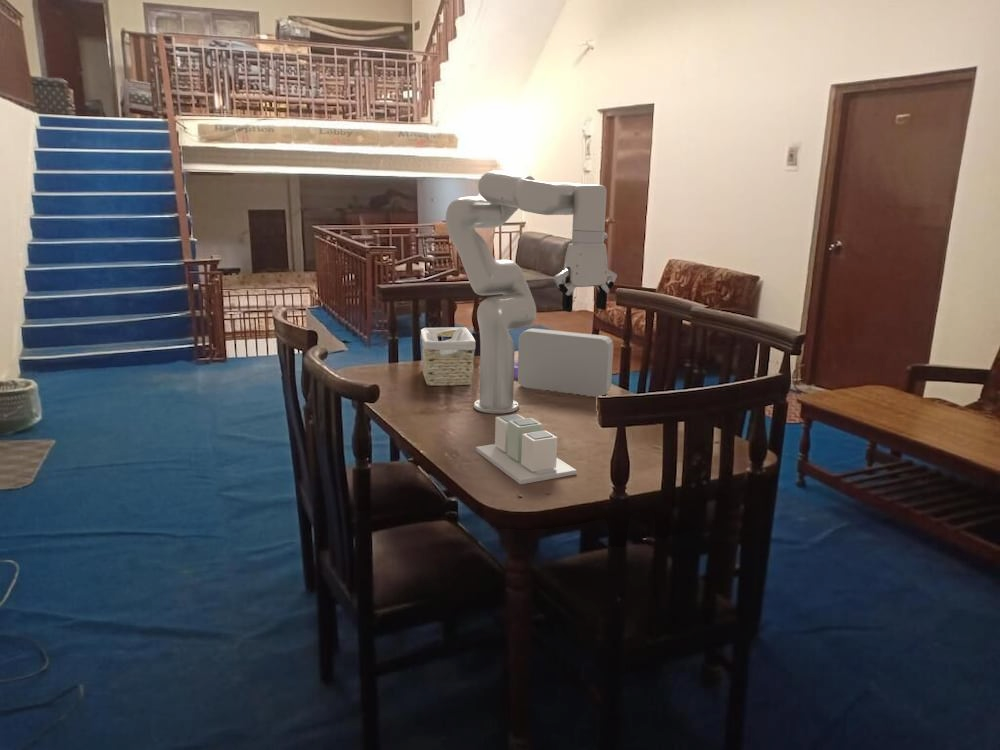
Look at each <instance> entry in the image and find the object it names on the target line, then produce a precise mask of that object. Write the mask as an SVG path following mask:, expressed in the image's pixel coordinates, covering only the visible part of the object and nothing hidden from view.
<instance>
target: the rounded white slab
mask: <svg viewBox="0 0 1000 750" xmlns="http://www.w3.org/2000/svg"><path fill="white" fill-rule="evenodd" d="M614 346H615V345H614V341H613V340H612V338H611V337H610V336H607V335H600V334H591V333H584V332H583V333H582V332H571V331H562V330H555V329H554V330H553V329H544V328H533V327H532V328H528V329H526V330H523V331H522V332H521V333H520V334H519V337H518V356H517V358H518V359H517V361H518V379H517V382H518V384H519V385H520V386H521V387H523V388H526V389H531V390H539V389H540V390H539V391H546V390H550V391H549V392H554V391H557V392H556V393H561V392H564V393H563V394H568V393H573V394H572V395H576V394H582V395H581V396H583V395H589V396H588V397H591V396H593V397H592V398H598V397H597V396H599V395H604V396H605V395H606V394H607V393H608V392H609V391H610V390H611V387H612V378H613V377H612V375H613V373H612V372H613V361H614ZM594 396H595V397H594Z"/></svg>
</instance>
